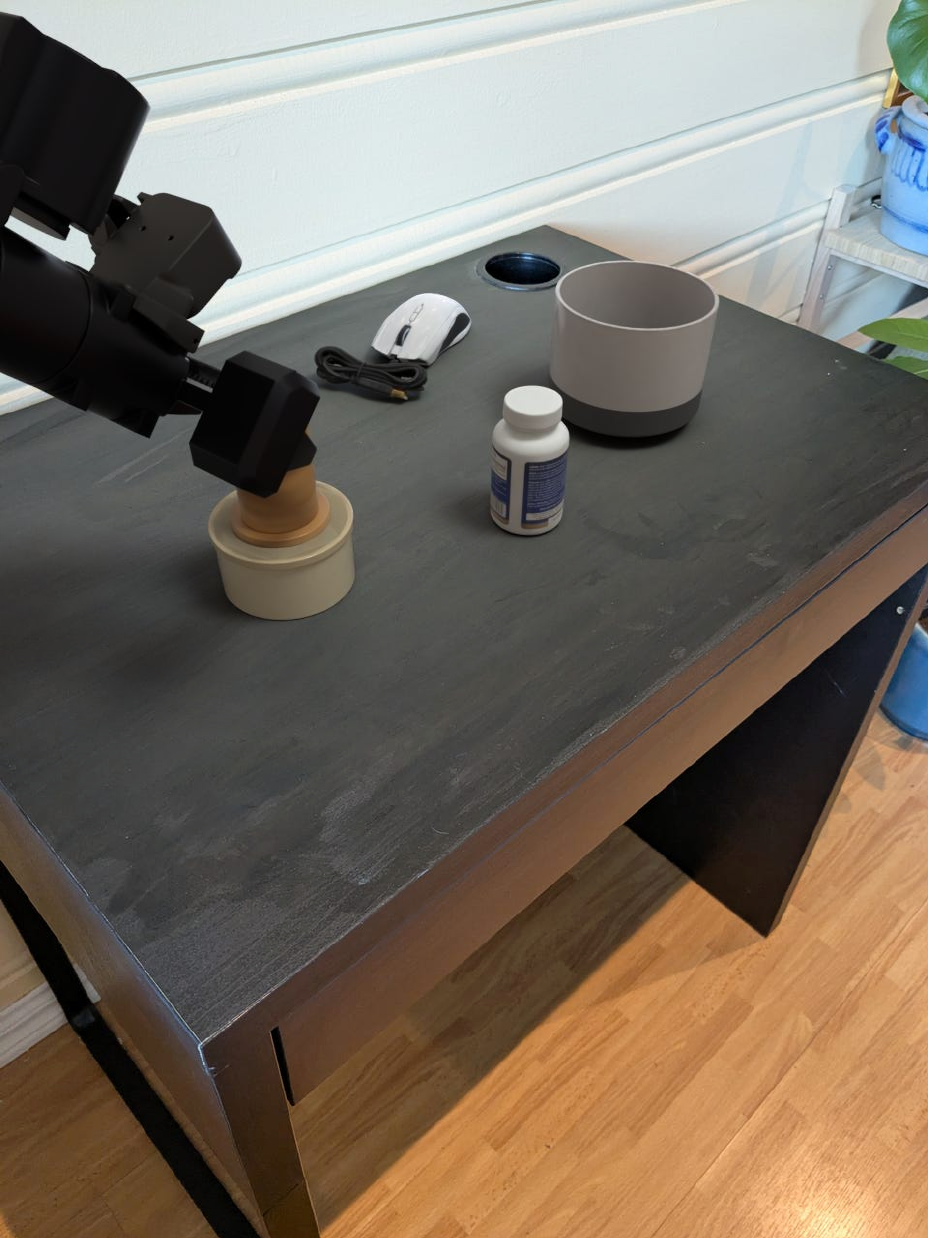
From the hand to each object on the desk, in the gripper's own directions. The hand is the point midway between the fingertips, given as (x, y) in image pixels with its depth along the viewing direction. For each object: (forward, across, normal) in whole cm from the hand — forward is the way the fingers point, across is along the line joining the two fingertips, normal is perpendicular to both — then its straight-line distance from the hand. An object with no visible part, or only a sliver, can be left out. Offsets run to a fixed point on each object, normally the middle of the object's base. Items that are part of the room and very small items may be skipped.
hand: (255, 430), depth 57 cm
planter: (+33, -7, -16) cm, 37 cm away
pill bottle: (+20, -9, -3) cm, 23 cm away
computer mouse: (+31, +14, -13) cm, 36 cm away
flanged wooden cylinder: (+6, 0, +4) cm, 7 cm away
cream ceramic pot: (+9, 0, +8) cm, 12 cm away
